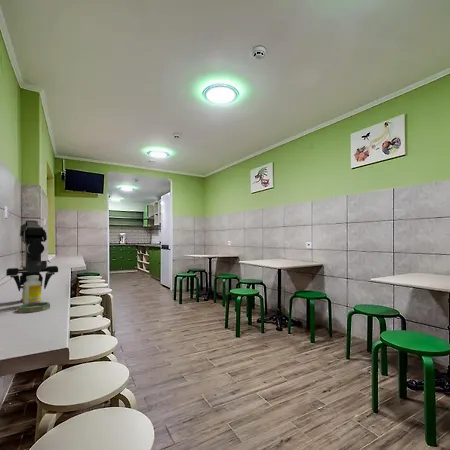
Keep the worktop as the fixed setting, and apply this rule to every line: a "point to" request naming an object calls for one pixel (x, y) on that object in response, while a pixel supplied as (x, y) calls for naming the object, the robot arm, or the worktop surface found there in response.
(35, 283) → the supplement bottle
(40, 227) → the robot arm
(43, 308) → the coaster ring
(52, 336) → the worktop surface
